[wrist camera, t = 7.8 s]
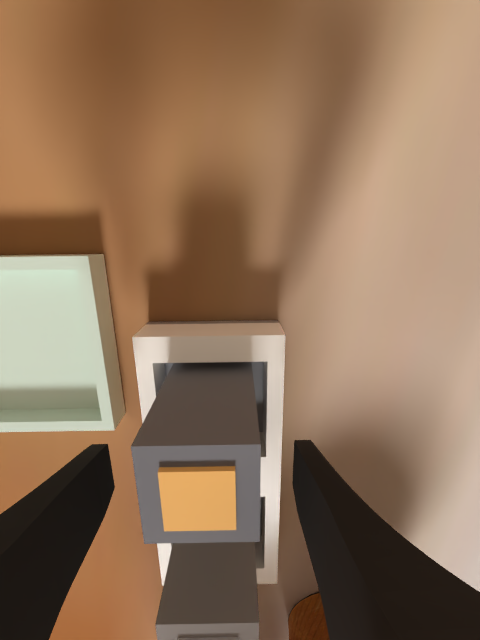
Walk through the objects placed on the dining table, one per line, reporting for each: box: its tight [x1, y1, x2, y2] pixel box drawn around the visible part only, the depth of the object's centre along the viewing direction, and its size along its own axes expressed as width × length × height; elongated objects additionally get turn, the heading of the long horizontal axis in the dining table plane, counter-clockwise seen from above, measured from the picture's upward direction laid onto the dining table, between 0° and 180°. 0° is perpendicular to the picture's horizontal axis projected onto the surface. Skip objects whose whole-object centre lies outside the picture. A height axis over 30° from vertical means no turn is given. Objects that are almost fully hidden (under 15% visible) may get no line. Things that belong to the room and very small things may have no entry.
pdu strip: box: [132, 320, 285, 586], centre depth 17 cm, size 7×16×2 cm, turn 1°
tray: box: [0, 254, 126, 432], centre depth 15 cm, size 9×9×2 cm
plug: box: [131, 362, 261, 544], centre depth 13 cm, size 4×4×7 cm
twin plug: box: [156, 542, 259, 640], centre depth 15 cm, size 4×4×7 cm
